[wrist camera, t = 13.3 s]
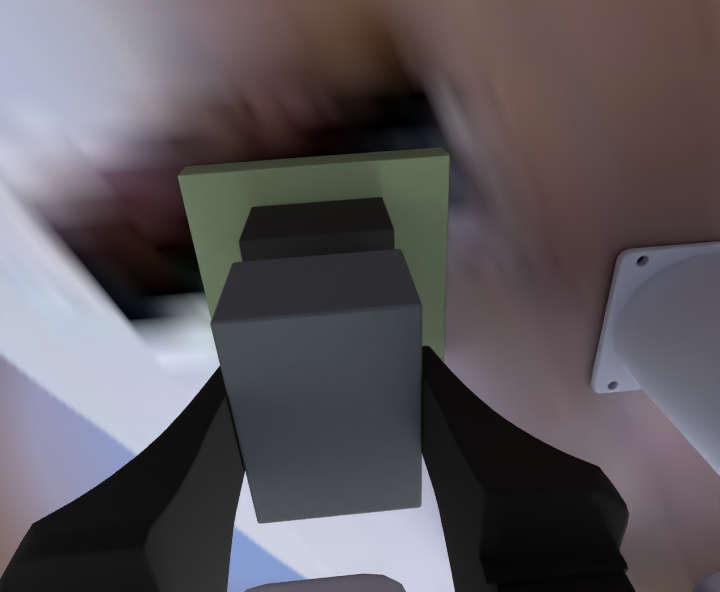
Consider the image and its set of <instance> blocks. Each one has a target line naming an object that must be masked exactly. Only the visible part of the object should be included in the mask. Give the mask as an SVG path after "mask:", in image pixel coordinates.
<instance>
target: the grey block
mask: <svg viewBox="0 0 720 592" xmlns="http://www.w3.org/2000/svg"><path fill="white" fill-rule="evenodd" d="M210 324H211V328H212V333H213V337H214V341H215V345H216V349H217V354H218V358H219V362H220V366H221V370H222V375H223V379H224V383H225V387H226V391H227V396H228V400H229V404H230V408H231V412H232V417H233V421H234V425H235V429H236V433H237V437H238V442H239V446H240V450H241V454H242V458H243V463H244V467H245V471H246V475H247V479H248V484H249V488H250V492H251V496H252V500H253V505H254V509H255V513H256V517H257V521H258V523H260V524H262V523H272V522H282V521H291V520H301V519H311V518H321V517H331V516H341V515H351V514H360V513H370V512H380V511H390V510H400V509H410V508H419V507H421V490H422V303H421V300H420V298H419V295H418V292H417V290H416V287H415V284H414V282H413V279H412V276H411V274H410V271H409V268H408V265H407V263H406V260H405V257H404V255H403V252H402V250H401V249H391V250H379V251H367V252H354V253H342V254H330V255H318V256H306V257H293V258H281V259H269V260H257V261H244V262H234V263H232V265H231V268H230V271H229V273H228V276H227V279H226V282H225V284H224V287H223V290H222V293H221V295H220V298H219V301H218V303H217V306H216V309H215V312H214V314H213V317H212V320H211V323H210Z"/></svg>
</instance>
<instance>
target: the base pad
mask: <svg viewBox="0 0 720 592" xmlns="http://www.w3.org/2000/svg"><path fill="white" fill-rule="evenodd" d="M449 165H450V155H449V154H448V153H447V152H446V151H445V150H444V149H443V148H442V147H438V148H424V149H411V150H397V151H384V152H370V153H357V154H343V155H330V156H316V157H303V158H289V159H276V160H262V161H249V162H235V163H222V164H208V165H195V166H186V167H185V168H184V170H183V171H182V172H181V173H180V174H179V175H178V180H179V184H180V188H181V192H182V197H183V201H184V205H185V209H186V214H187V218H188V222H189V226H190V231H191V235H192V239H193V243H194V247H195V252H196V256H197V260H198V264H199V269H200V273H201V277H202V281H203V286H204V290H205V294H206V298H207V303H208V307H209V311H210V315H211V320H212V317H213V314H214V312H215V309H216V306H217V303H218V301H219V298H220V295H221V293H222V290H223V287H224V284H225V282H226V279H227V276H228V273H229V271H230V268H231V265H232V263H234V262H242V257H241V252H240V246H239V239H240V237H241V234H242V231H243V229H244V226H245V223H246V221H247V218H248V215H249V213H250V210H251V208H252V207H259V206H272V205H285V204H298V203H311V202H323V201H336V200H349V199H362V198H375V197H382V198H383V201H384V203H385V206H386V209H387V211H388V214H389V217H390V220H391V222H392V225H393V228H394V242H395V249H401V250H402V252H403V255H404V257H405V260H406V263H407V265H408V268H409V271H410V274H411V276H412V279H413V282H414V284H415V287H416V290H417V292H418V295H419V298H420V300H421V303H422V346H430V347H431V348H432V349H433V350H434V352H435V353H436V354H437V355H438V357H439V358H440V359H441V360H442V361H443V362H444V331H445V298H446V265H447V231H448V198H449Z"/></svg>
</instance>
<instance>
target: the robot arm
mask: <svg viewBox="0 0 720 592" xmlns="http://www.w3.org/2000/svg"><path fill="white" fill-rule="evenodd" d="M641 256H643V259H642V260H641V261H640V262H638V263H637V260H638V259H639V258H640V257H641ZM611 382H612V383H611ZM609 383H611V384H609ZM590 386H591V387H592V389H593V390H594V391H595V392H596V393H610V392H621V391H631V390H642V389H643V390H644V391H645V392H646V394H647V395H648V396H649V397H650V398H651V399H652V400H653V401H654V403H655V404H656V405H657V406H658V407H659V408H660V409H661V410H662V412H663V413H664V414H665V415H666V416H667V417H668V418H669V419H670V421H671V422H672V423H673V424H674V425H675V426H676V427H677V428H678V429H679V431H680V432H681V433H682V434H683V435H684V436H685V437H686V438H687V440H688V441H689V442H690V443H691V444H692V445H693V446H694V447H695V449H696V450H697V451H698V452H699V453H700V454H701V455H702V456H703V458H704V459H705V460H706V461H707V462H708V463H709V464H710V465H711V466H712V468H713V469H714V470H715V471H716V472H717V473H718V474H719V475H720V241H716V242H704V243H692V244H680V245H668V246H656V247H644V248H632V249H627V250H624V251H623V252H621V253H620V254H619V256H618V258H617V260H616V265H615V269H614V274H613V279H612V284H611V288H610V293H609V298H608V302H607V307H606V312H605V317H604V321H603V326H602V331H601V335H600V340H599V345H598V349H597V354H596V359H595V364H594V368H593V373H592V378H591V382H590ZM422 455H423V458H424V461H425V464H426V467H427V470H428V473H429V477H430V480H431V483H432V486H433V489H434V492H435V496H436V500H437V504H438V508H439V513H440V517H441V522H442V527H443V532H444V537H445V542H446V547H447V552H448V557H449V562H450V567H451V572H452V577H453V583H454V588H455V592H636V591H635V590H634V588H633V586H632V584H631V582H630V581H629V579H628V577H627V575H626V574H625V572H627V570H628V566H627V563H626V561H625V560H624V558H623V556H622V554H621V553H620V551H619V550H620V546H621V543H622V540H623V537H624V534H625V530H626V527H627V524H628V517H629V512H628V509H627V506H626V503H625V502H624V500H623V499H622V497H621V496H620V494H619V492H618V491H617V489H616V488H615V487H614V485H613V484H612V482H611V481H610V480H609V479H608V477H607V476H606V475H605V474H604V473H603V471H602V470H601V469H600V467H598V466H596V465H593V464H591V463H589V462H586V461H584V460H581V459H579V458H576V457H574V456H571V455H569V454H567V453H564V452H562V451H560V450H558V449H556V448H554V447H552V446H550V445H548V444H546V443H544V442H542V441H541V440H539V439H537V438H535V437H533V436H532V435H530V434H528V433H527V432H525V431H523V430H522V429H520V428H518V427H517V426H515V425H514V424H512V423H511V422H509V421H508V420H506V419H505V418H503V417H502V416H501V415H499V414H498V413H497V412H495V411H494V410H493V409H491V408H490V407H489V406H488V405H486V404H485V403H484V402H483V401H482V400H481V399H479V398H478V397H477V396H476V395H475V394H474V393H473V392H472V391H471V390H470V389H468V388H467V387H466V386H465V385H464V384H463V383H462V382H461V381H460V380H459V379H458V378H457V377H456V376H455V374H454V373H453V372H452V371H451V370H450V369H449V368H448V367H447V366H446V365H445V364H444V362H443V361H442V360H441V359H440V358H439V357H438V355H437V354H436V353H435V352H434V350H433V349H432V348H431V347H430V346H422ZM244 473H245V467H244V463H243V458H242V454H241V450H240V446H239V442H238V437H237V433H236V429H235V425H234V421H233V417H232V412H231V408H230V404H229V400H228V396H227V391H226V387H225V383H224V379H223V375H222V370H221V366H219V367H218V369H217V370H216V371H215V372H214V374H213V375H212V376H211V378H210V379H209V380H208V381H207V383H206V384H205V385H204V386H203V388H202V389H201V390H200V391H199V393H198V394H197V395H196V396H195V397H194V399H193V400H192V401H191V402H190V403H189V405H188V406H187V407H186V408H185V409H184V410H183V412H182V413H181V414H180V415H179V416H178V417H177V418H176V419H175V420H174V421H173V422H172V424H171V425H170V426H169V427H168V428H167V429H166V430H165V431H164V432H163V433H162V434H161V435H160V436H159V437H158V438H157V439H156V440H155V441H153V442H152V443H151V444H150V445H149V446H148V447H147V448H146V449H144V450H143V451H142V452H141V453H140V454H139V455H137V456H136V457H135V458H134V459H132V460H131V461H130V462H128V463H127V464H126V465H125V466H123V467H122V468H121V469H119V470H118V471H117V472H116V473H114V474H113V475H112V476H110V477H109V478H107V479H106V480H105V481H103V482H102V483H100V484H99V485H97V486H96V487H94V488H93V489H91V490H90V491H88V492H87V493H85V494H83V495H82V496H80V497H79V498H77V499H75V500H74V501H72V502H71V503H69V504H67V505H65V506H64V507H62V508H60V509H58V510H56V511H55V512H53V513H51V514H49V515H48V516H46V517H44V518H42V519H40V520H39V521H37V522H35V523H33V524H32V526H31V527H30V529H29V530H28V532H27V533H26V535H25V537H24V538H23V540H22V541H21V543H20V545H19V547H18V549H17V550H16V552H15V554H14V555H13V557H12V559H11V561H10V563H9V565H8V566H7V568H6V570H5V572H4V573H3V575H2V577H1V579H0V592H227V584H228V574H229V563H230V554H231V545H232V536H233V527H234V521H235V515H236V510H237V505H238V501H239V496H240V491H241V487H242V482H243V478H244ZM245 592H405V590H404V588H403V586H402V584H400V583H399V582H397V581H395V580H393V579H391V578H389V577H387V576H385V575H378V574H356V575H346V576H337V577H327V578H318V579H308V580H299V581H289V582H280V583H271V584H265V585H261V586H257V587H254V588H250V589H247V590H246V591H245ZM692 592H720V572H714V573H710V574H706V575H704V576H702V577H700V578H699V579H698V580H697V581H696V582H695V584H694V586H693V590H692Z"/></svg>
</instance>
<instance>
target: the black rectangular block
mask: <svg viewBox="0 0 720 592" xmlns="http://www.w3.org/2000/svg"><path fill="white" fill-rule="evenodd" d="M239 246H240V252H241V257H242V262H244V261H257V260H269V259H281V258H293V257H306V256H318V255H330V254H342V253H354V252H367V251H379V250H391V249H395V242H394V228H393V225H392V222H391V220H390V217H389V214H388V211H387V209H386V206H385V203H384V201H383V198H382V197H375V198H362V199H349V200H336V201H323V202H311V203H298V204H285V205H272V206H259V207H252V208H251V210H250V213H249V215H248V218H247V221H246V223H245V226H244V229H243V231H242V234H241V237H240V239H239Z"/></svg>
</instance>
